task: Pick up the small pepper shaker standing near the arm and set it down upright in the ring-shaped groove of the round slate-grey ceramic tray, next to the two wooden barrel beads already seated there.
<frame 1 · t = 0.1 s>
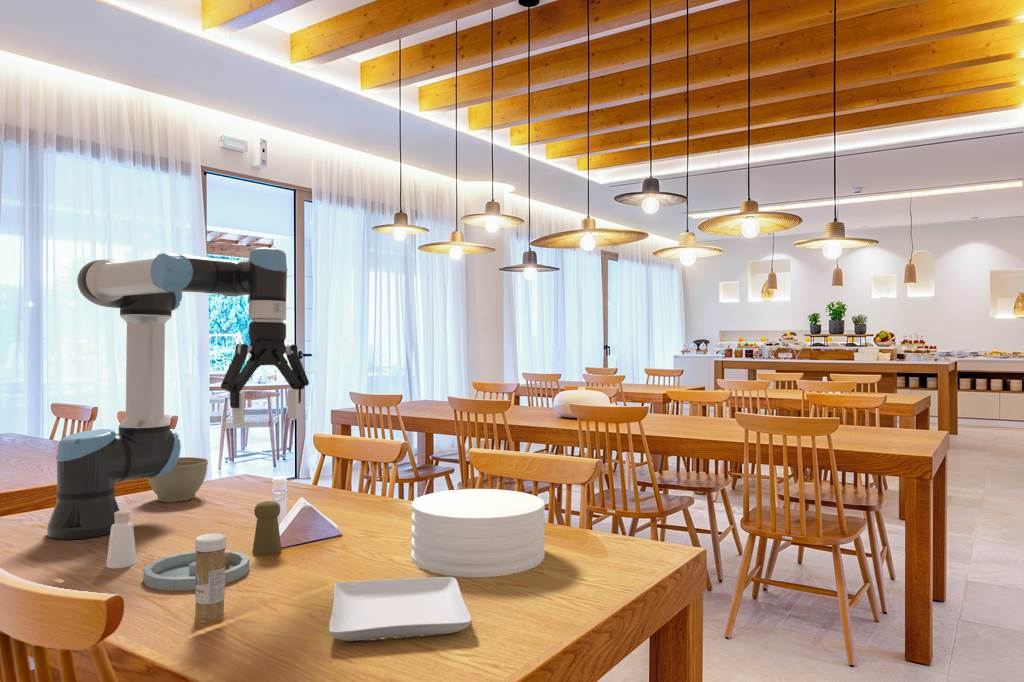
hand: (266, 421, 149), 28 cm above the table, tool pointing down, fingers open, 13 cm apart
plate stack: (478, 557, 148), on the table
salad plate: (398, 621, 114), on the table
sprinkles bottle: (209, 621, 112), on the table
bead walnut: (218, 576, 132), point 1 cm above the table, touching groove tray
groove tray: (197, 577, 133), on the table
pepper shaker: (267, 555, 148), on the table
planter bowl: (177, 499, 201), on the table
pepper shaker 2: (121, 568, 139), on the table
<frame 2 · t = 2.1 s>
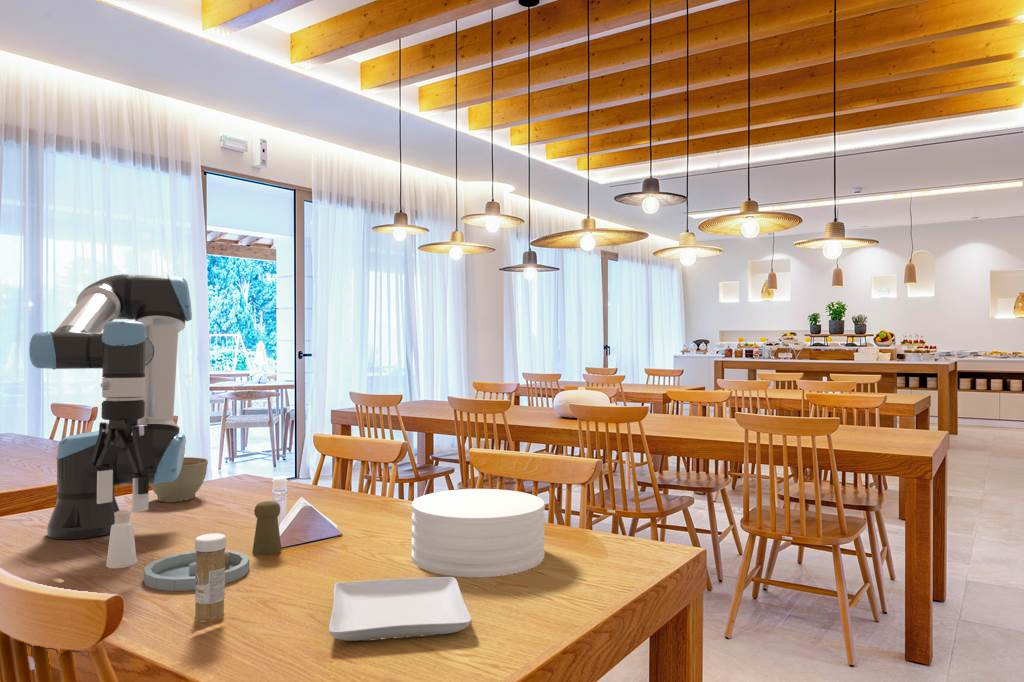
hand: (121, 506, 139), 12 cm above the table, tool pointing down, fingers open, 13 cm apart
nothing on the table moved.
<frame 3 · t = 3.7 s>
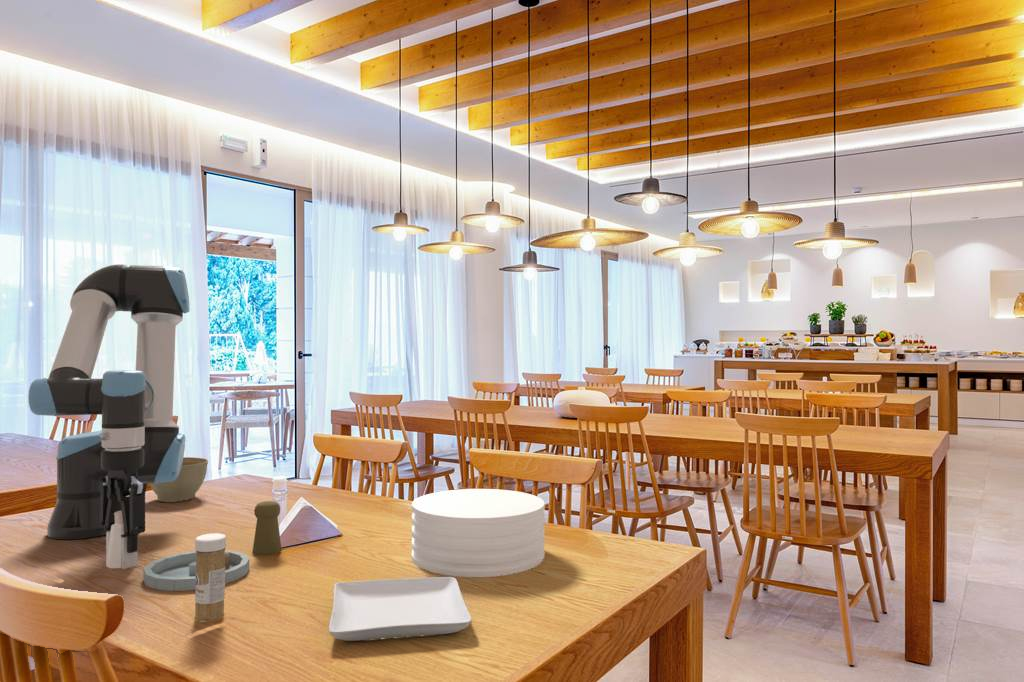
hand: (121, 565, 139), 0 cm above the table, tool pointing down, fingers closed on pepper shaker 2, 5 cm apart
pepper shaker 2: (121, 568, 139), on the table, touching gripper
everything else where it was.
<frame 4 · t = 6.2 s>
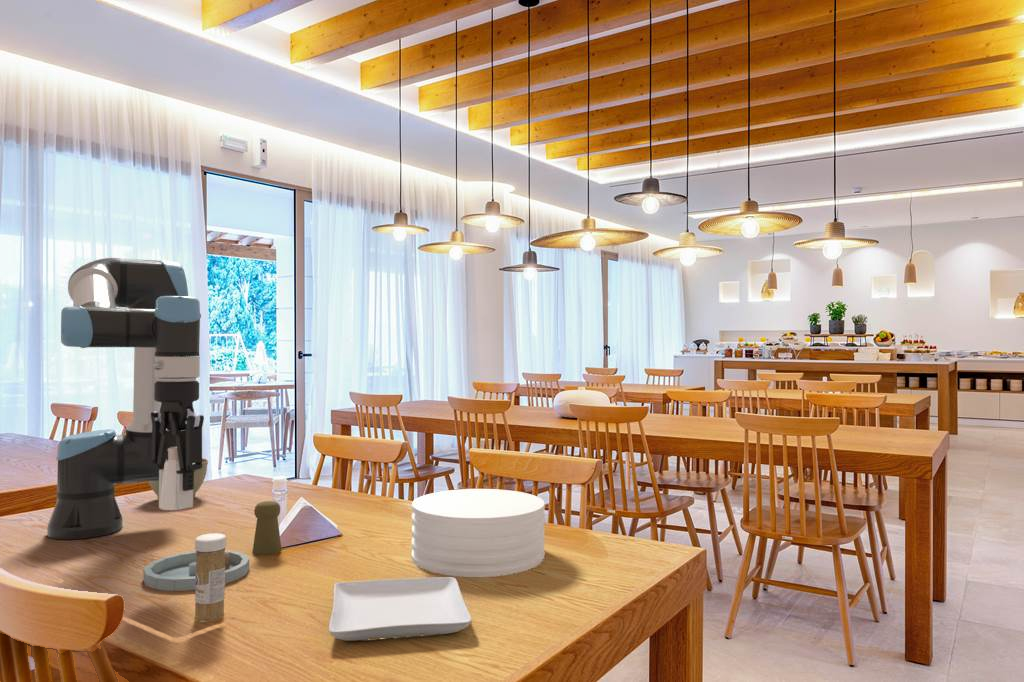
hand: (175, 505, 129), 14 cm above the table, tool pointing down, fingers closed on pepper shaker 2, 5 cm apart
pepper shaker 2: (175, 508, 129), point 14 cm above the table, touching gripper
everything else where it was.
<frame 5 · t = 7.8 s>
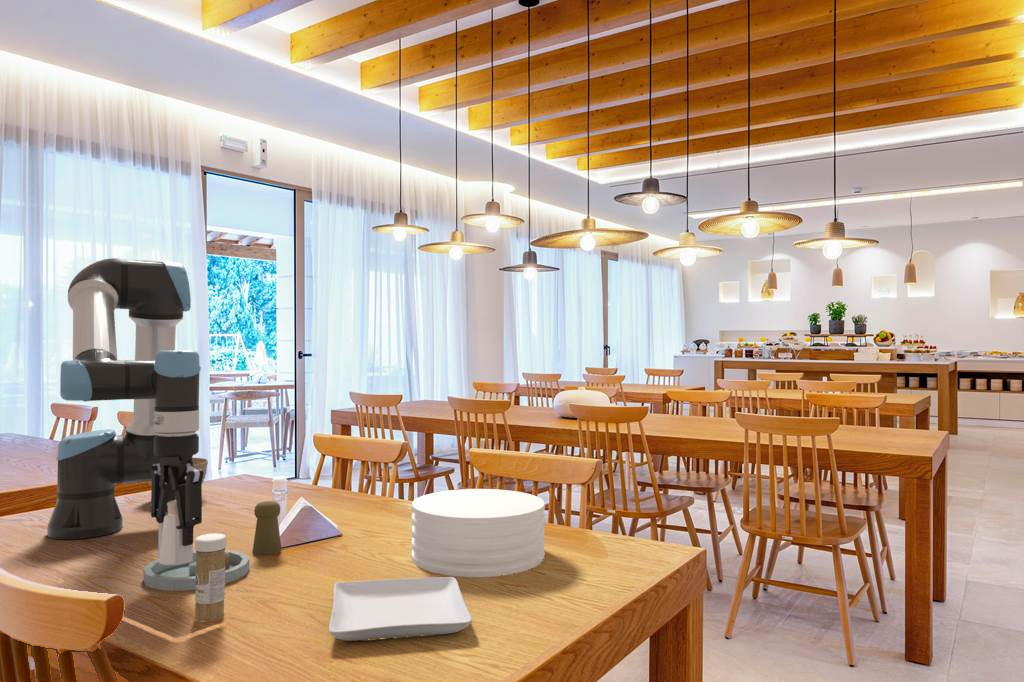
hand: (175, 559, 129), 4 cm above the table, tool pointing down, fingers closed on pepper shaker 2, 5 cm apart
pepper shaker 2: (175, 562, 129), point 4 cm above the table, touching gripper
everything else where it was.
when the fingers open (2 cm above the table, at t = 8.6 s): pepper shaker 2 drops 1 cm, resting on groove tray.
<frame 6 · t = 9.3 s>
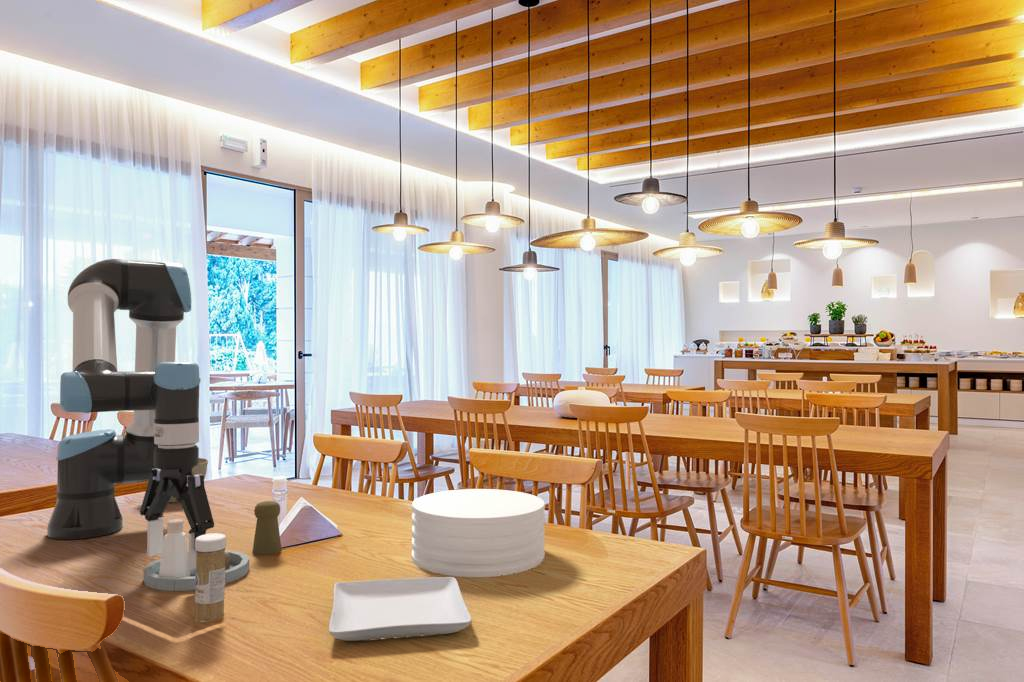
hand: (175, 560, 129), 4 cm above the table, tool pointing down, fingers open, 13 cm apart
pepper shaker 2: (174, 581, 129), resting on groove tray
everything else where it was.
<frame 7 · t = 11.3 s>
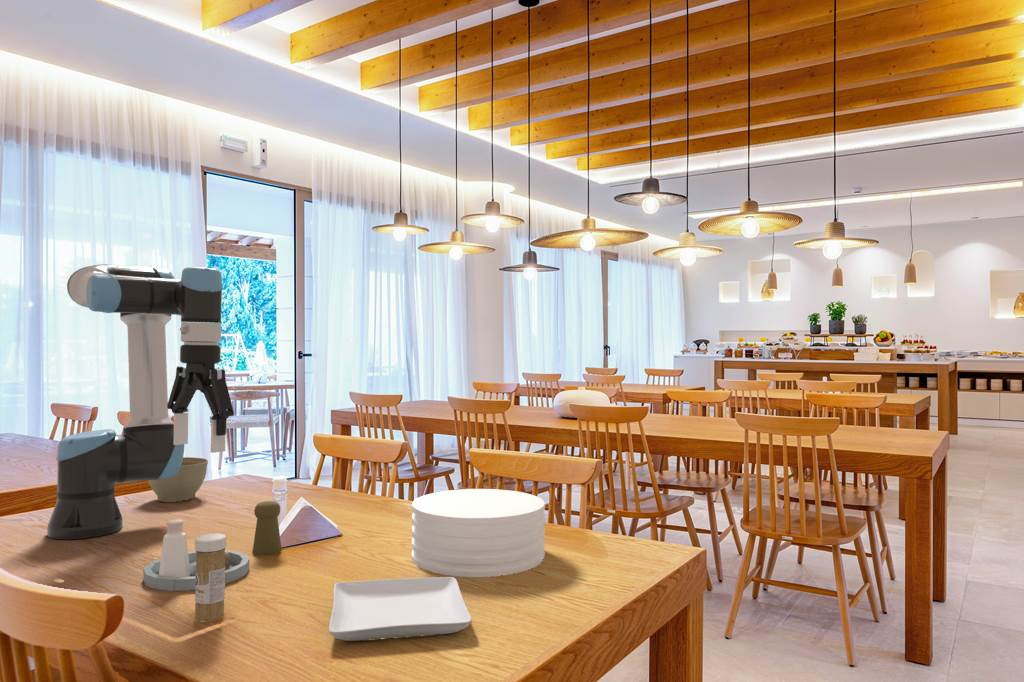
hand: (198, 448, 143), 23 cm above the table, tool pointing down, fingers open, 13 cm apart
nothing on the table moved.
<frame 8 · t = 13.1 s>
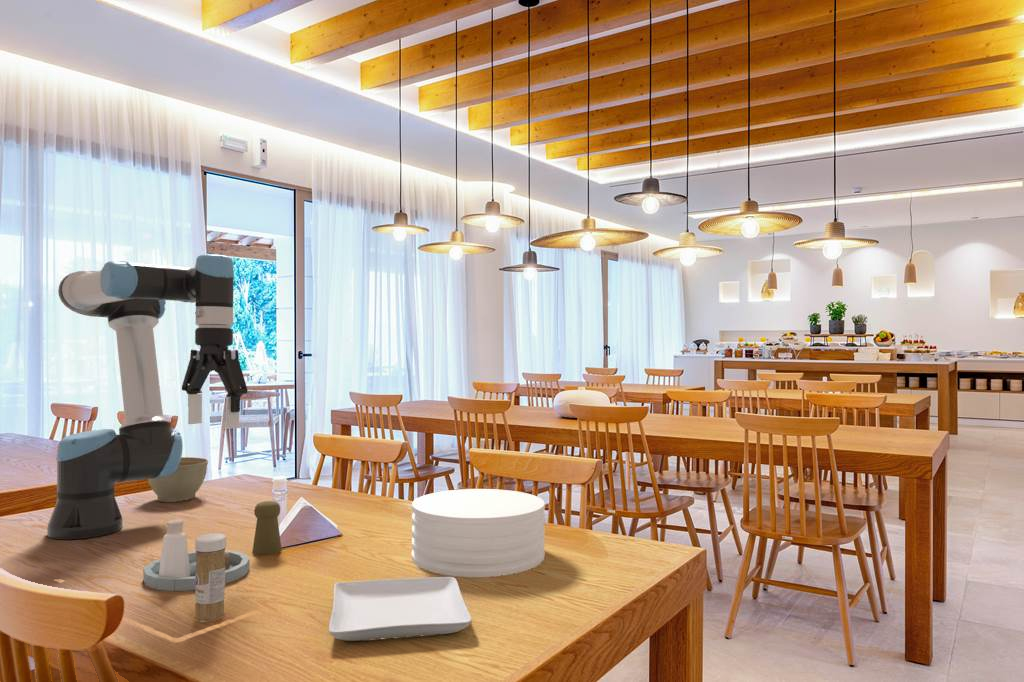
hand: (213, 425, 151), 27 cm above the table, tool pointing down, fingers open, 13 cm apart
nothing on the table moved.
at the end: pepper shaker 2 4.5 cm from the groove tray (horizontally); pepper shaker 2 resting on groove tray; pepper shaker 2 tilted 0° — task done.
